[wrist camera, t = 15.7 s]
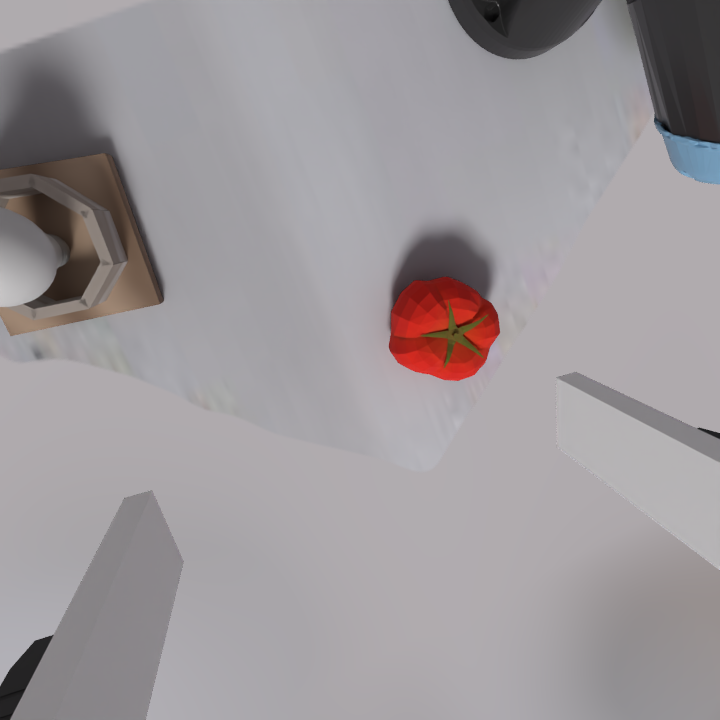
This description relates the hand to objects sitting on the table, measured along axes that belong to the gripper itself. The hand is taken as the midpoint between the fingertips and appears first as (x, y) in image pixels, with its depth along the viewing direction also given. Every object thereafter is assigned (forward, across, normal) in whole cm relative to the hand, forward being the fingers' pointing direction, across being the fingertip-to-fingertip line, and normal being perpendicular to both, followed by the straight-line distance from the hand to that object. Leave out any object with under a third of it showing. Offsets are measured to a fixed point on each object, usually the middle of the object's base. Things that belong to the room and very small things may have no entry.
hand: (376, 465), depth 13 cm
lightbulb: (+27, -18, +9) cm, 34 cm away
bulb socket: (+29, -18, +9) cm, 35 cm away
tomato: (+29, +13, -5) cm, 32 cm away
